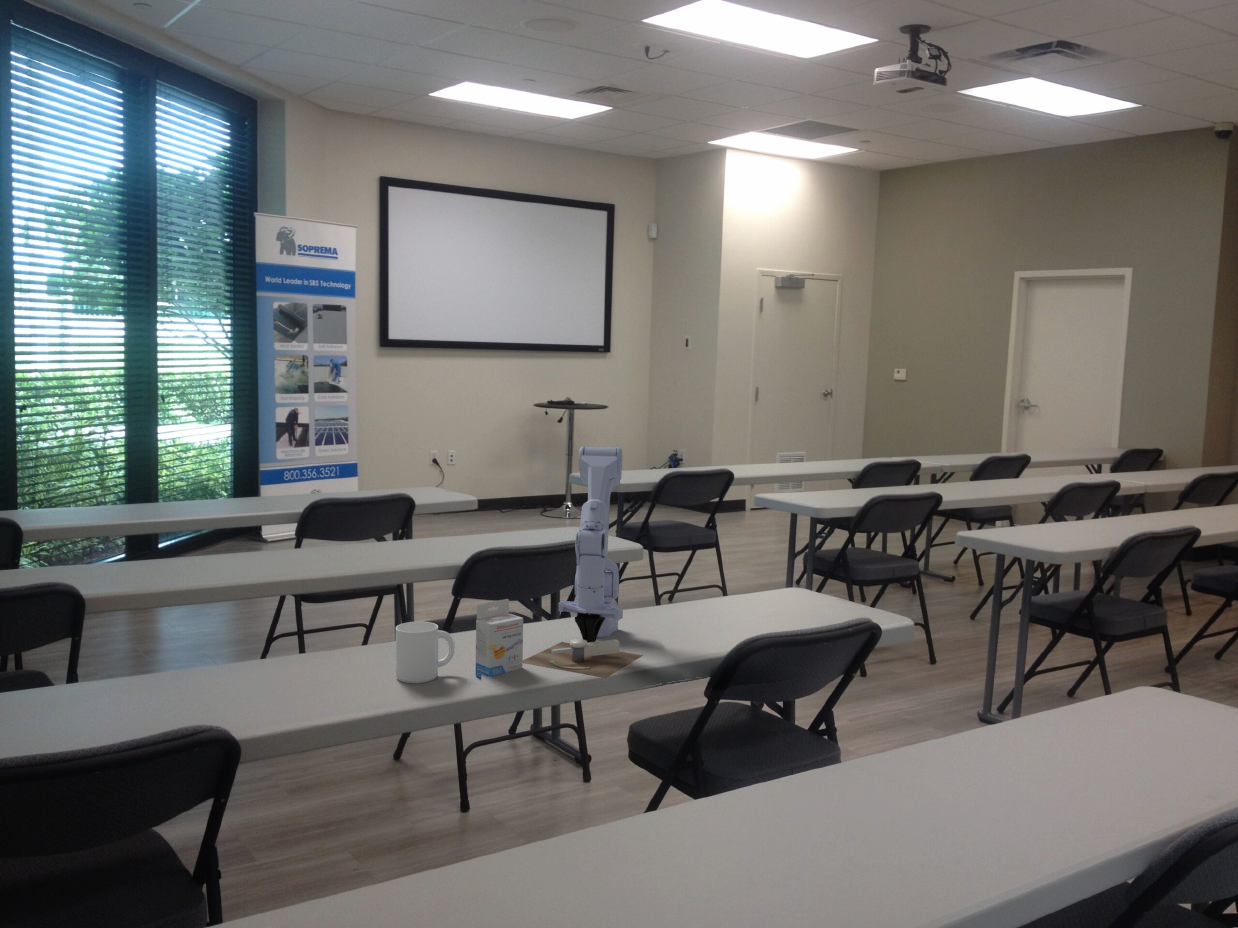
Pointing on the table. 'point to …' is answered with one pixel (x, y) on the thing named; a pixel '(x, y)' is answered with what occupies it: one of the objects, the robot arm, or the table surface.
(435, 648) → the mug
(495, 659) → the ink box
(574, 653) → the lever
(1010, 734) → the table surface
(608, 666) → the wood grain tray mat
